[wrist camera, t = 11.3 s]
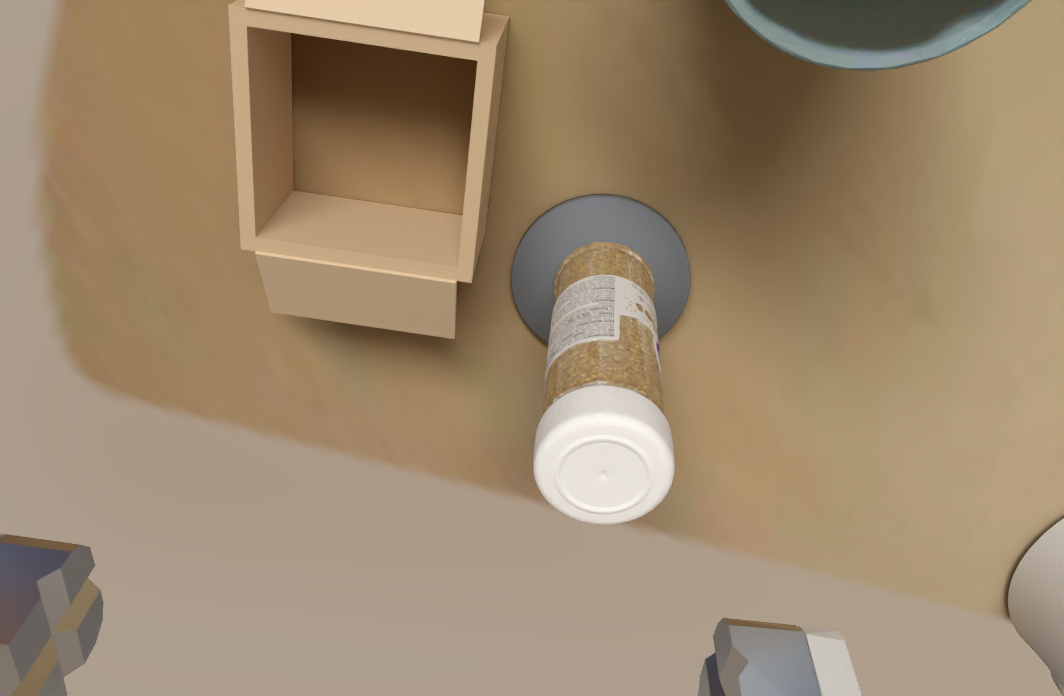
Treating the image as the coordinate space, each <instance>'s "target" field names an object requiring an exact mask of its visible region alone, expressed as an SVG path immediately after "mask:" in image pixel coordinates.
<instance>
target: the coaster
mask: <svg viewBox="0 0 1064 696" xmlns="http://www.w3.org/2000/svg"><path fill="white" fill-rule="evenodd" d="M593 242H612V243H618V244H621V245H625V246H627V247H629V248H631V249H632V250H634V251H636V252H638V253H639V255H640V256H641V257H642V258H643V259H644V260H645V261H646V263H647V264H648V265H649V267H650V269H651V271H652V274H653V277H654V280H655V282H654V283H655V295H654V299H653V301H654V308H655V312H656V318H657V329H658V340H659V339H660V338H661V337H662V336H663V335H664V334H666V333H667V332H668V331H669V329H670V328H671V327H672V326H673V325H674V324H675V322H676V321H677V319H678V318H679V317H680V315H681V313H682V311H683V309H684V307H685V304H686V301H687V298H688V295H689V289H690V267H689V261H688V257H687V253H686V249H685V247H684V244H683V242H682V240H681V238H680V236H679V235H678V233H677V231H676V230H675V229H674V227H673V226H672V225H671V224H670V223H669V221H668V220H667V219H665V218H664V217H663V216H662V215H661V214H660V213H658V212H657V211H656V210H654V209H653V208H651V207H650V206H648V205H646V204H644V203H642V202H640V201H637V200H634V199H631V198H628V197H624V196H619V195H612V194H590V195H584V196H579V197H575V198H572V199H569V200H566V201H564V202H562V203H559V204H557V205H555V206H554V207H552V208H550V209H549V210H547V211H546V212H545V213H543V214H542V215H541V216H539V217H538V218H537V219H536V220H535V221H534V222H533V223H532V224H531V225H530V227H529V228H528V230H527V231H526V232H525V234H524V235H523V237H522V239H521V241H520V243H519V245H518V248H517V250H516V253H515V257H514V262H513V267H512V278H511V282H512V292H513V296H514V300H515V303H516V306H517V308H518V311H519V312H520V314H521V316H522V318H523V319H524V321H525V322H526V323H527V325H528V326H529V327H530V328H531V329H532V330H533V331H534V332H535V334H536V335H538V336H539V337H540V338H541V339H543V340H544V341H545V342H547V343H548V344H549V336H550V328H551V319H552V312H553V308H554V305H555V293H554V281H555V276H556V273H557V270H558V268H559V267H560V265H561V263H562V261H563V260H564V259H565V258H566V257H567V256H568V255H569V254H570V253H571V252H573V251H574V250H576V249H578V248H580V247H582V246H585V245H588V244H590V243H593Z"/></svg>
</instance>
